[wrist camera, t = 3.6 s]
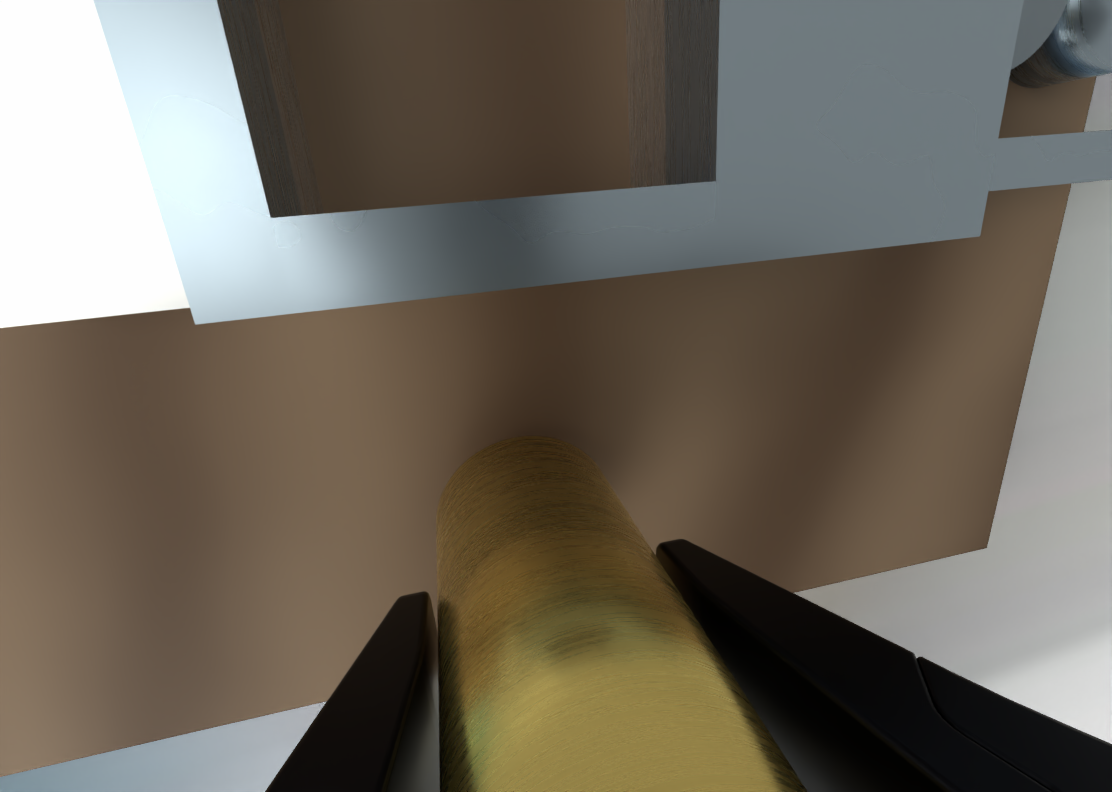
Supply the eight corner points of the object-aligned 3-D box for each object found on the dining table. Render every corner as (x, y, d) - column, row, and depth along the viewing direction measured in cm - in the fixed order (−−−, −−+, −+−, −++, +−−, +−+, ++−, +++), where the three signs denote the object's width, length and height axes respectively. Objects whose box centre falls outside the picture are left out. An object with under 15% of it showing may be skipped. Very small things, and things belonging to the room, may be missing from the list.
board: (-34, 727, 11) (-99, 799, 10) (-700, -338, 6) (-1052, -508, 4) (937, 517, 16) (986, 547, 14) (1077, -222, 10) (1182, -291, 9)
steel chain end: (-409, 357, 7) (-615, 394, 6) (-971, -418, 5) (-1567, -684, 3) (684, 244, 10) (727, 250, 8) (687, -288, 7) (746, -403, 6)
